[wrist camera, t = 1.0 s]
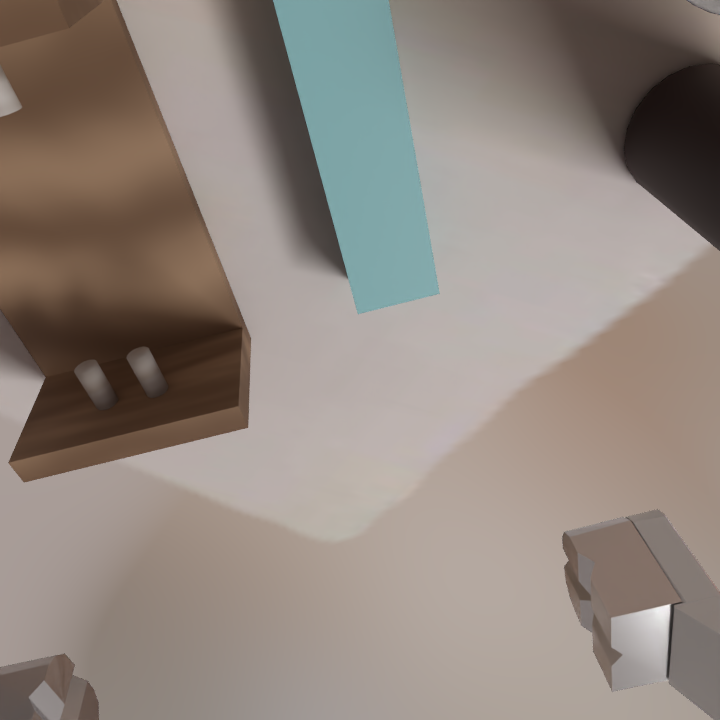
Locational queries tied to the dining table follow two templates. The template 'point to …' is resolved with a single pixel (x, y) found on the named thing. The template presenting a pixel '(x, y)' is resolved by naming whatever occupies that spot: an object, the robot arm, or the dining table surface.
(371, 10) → the shelf board
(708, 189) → the bottle
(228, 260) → the dining table surface
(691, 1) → the teacup
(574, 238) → the dining table surface
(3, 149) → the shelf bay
